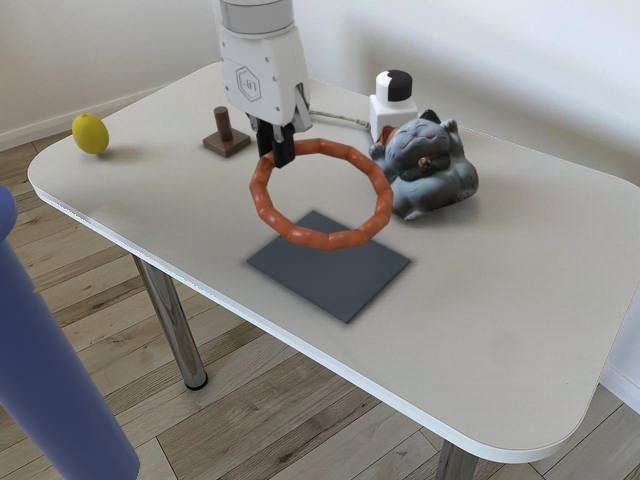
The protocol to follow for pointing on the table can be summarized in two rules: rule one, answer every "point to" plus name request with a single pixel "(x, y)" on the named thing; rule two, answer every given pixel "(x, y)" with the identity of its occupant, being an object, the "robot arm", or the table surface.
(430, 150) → the lucky cat figurine
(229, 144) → the post stand
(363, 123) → the soupspoon
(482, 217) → the table surface
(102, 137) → the lemon
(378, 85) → the medicine bottle
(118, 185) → the table surface
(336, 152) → the ring
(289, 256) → the mat
